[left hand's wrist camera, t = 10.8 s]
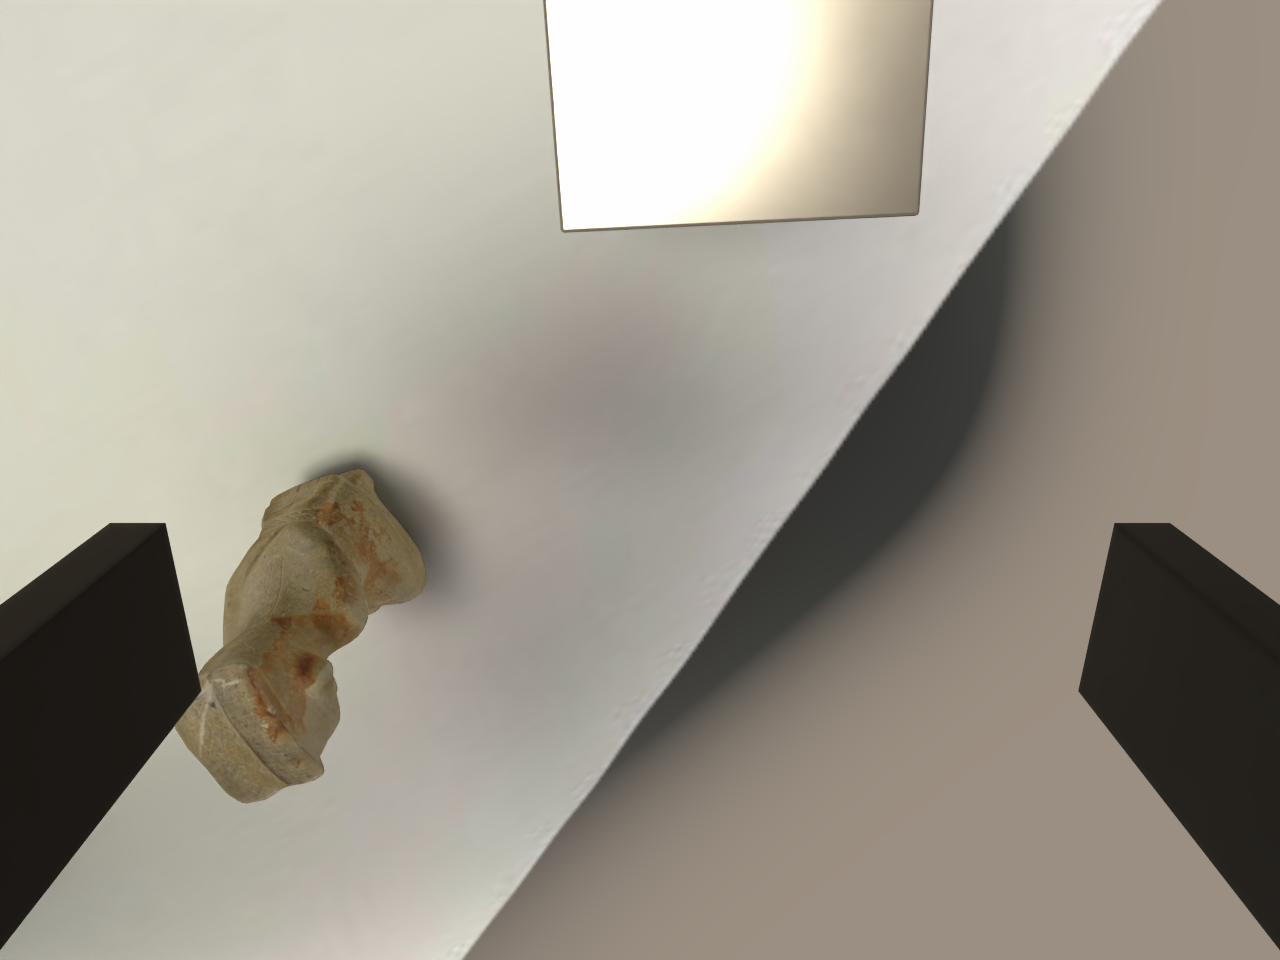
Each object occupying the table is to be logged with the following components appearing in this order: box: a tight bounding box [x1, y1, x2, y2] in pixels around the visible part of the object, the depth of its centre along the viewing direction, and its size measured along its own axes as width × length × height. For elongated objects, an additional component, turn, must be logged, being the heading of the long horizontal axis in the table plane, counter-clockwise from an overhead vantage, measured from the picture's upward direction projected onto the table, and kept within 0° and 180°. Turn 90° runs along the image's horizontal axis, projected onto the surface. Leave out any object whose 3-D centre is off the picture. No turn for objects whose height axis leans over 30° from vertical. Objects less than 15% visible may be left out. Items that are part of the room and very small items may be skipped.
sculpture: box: [175, 469, 426, 803], centre depth 35 cm, size 6×7×15 cm
